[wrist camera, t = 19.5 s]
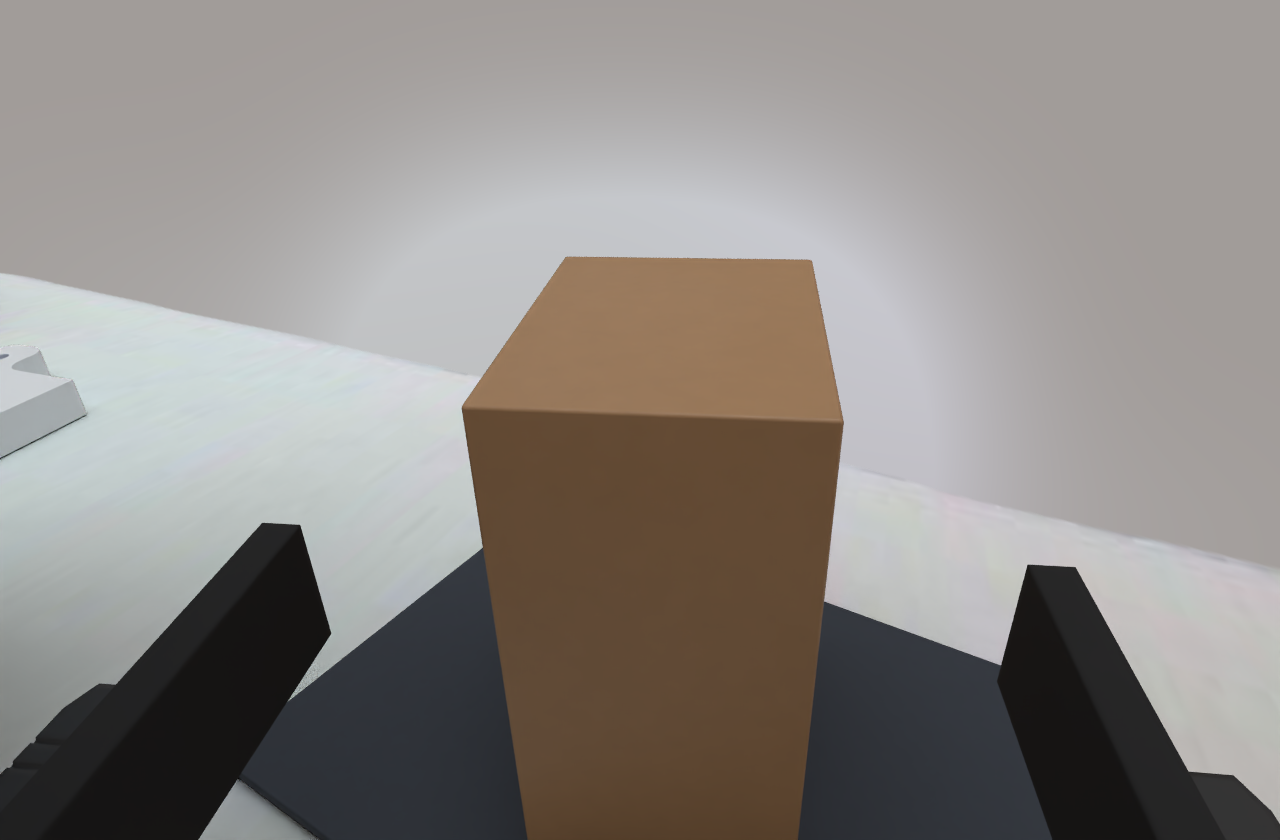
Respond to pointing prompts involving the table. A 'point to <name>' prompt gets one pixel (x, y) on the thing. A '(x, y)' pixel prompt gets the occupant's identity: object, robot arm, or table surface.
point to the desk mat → (485, 761)
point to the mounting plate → (32, 398)
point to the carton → (660, 543)
